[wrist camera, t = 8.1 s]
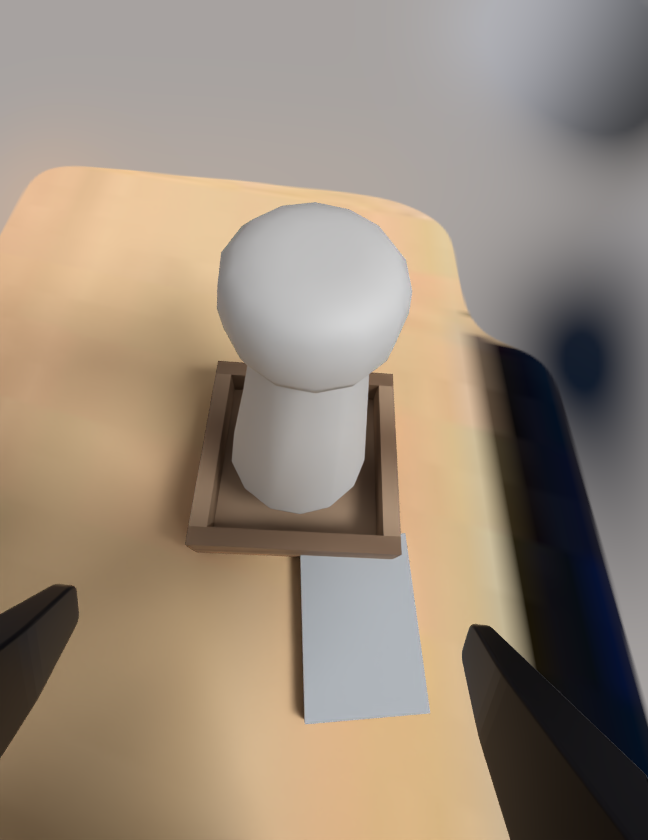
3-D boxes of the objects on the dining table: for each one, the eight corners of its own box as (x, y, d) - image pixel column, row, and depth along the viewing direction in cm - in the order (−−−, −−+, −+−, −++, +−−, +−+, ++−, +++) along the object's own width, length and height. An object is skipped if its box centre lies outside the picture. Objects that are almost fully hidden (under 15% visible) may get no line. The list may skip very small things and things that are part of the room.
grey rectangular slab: (425, 709, 16) (430, 713, 16) (304, 720, 16) (304, 724, 15) (401, 535, 19) (405, 533, 19) (299, 539, 19) (300, 537, 18)
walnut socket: (389, 560, 19) (401, 554, 17) (196, 552, 18) (184, 544, 16) (382, 395, 23) (392, 374, 21) (224, 384, 22) (218, 360, 20)
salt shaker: (222, 509, 18) (112, 333, 7) (254, 403, 21) (215, 139, 9) (346, 535, 18) (456, 403, 7) (363, 425, 21) (463, 189, 9)
